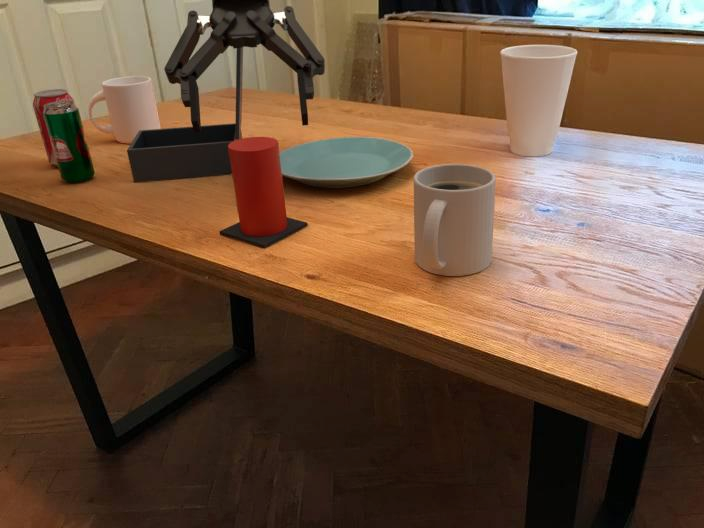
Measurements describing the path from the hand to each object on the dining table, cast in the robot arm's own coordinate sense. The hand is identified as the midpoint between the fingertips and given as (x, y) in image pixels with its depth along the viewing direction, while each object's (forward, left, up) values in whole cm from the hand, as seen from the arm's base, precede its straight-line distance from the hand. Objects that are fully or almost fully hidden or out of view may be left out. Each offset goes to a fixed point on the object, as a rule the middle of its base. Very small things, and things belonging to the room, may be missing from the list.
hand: (251, 123), depth 83 cm
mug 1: (-7, +52, -13) cm, 54 cm away
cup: (+48, +1, -13) cm, 50 cm away
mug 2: (+12, -25, -13) cm, 31 cm away
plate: (+17, +10, -13) cm, 24 cm away
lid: (+7, +24, +1) cm, 25 cm away
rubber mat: (-2, -4, -13) cm, 14 cm away
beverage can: (-19, +43, -13) cm, 48 cm away
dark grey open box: (-2, +28, -13) cm, 30 cm away
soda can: (-19, +33, -13) cm, 40 cm away
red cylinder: (-2, -5, -12) cm, 13 cm away
